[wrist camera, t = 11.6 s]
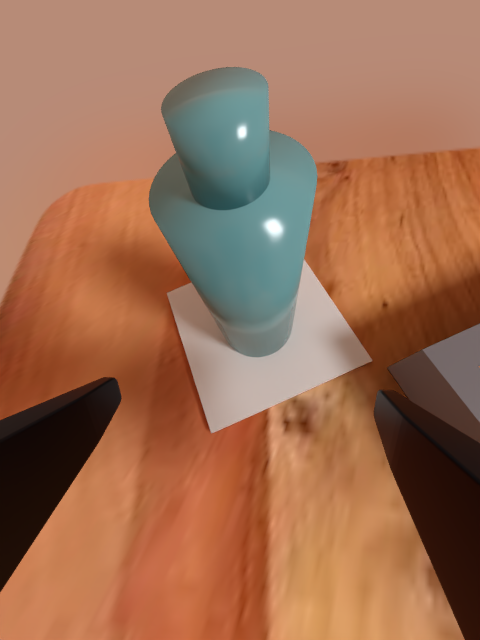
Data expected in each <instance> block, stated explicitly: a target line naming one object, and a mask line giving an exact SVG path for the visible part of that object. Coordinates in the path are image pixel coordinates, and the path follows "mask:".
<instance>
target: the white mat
mask: <svg viewBox="0 0 480 640" xmlns="http://www.w3.org/2000/svg"><path fill="white" fill-rule="evenodd" d="M167 296H168V299H169V302H170V305H171V308H172V311H173V315H174V318H175V321H176V324H177V327H178V330H179V334H180V337H181V340H182V343H183V346H184V349H185V352H186V356H187V359H188V362H189V365H190V368H191V371H192V374H193V378H194V381H195V384H196V387H197V390H198V393H199V397H200V400H201V403H202V406H203V409H204V412H205V415H206V419H207V422H208V425H209V428H210V431H211V433H214V432H216V431H219V430H221V429H223V428H225V427H227V426H230V425H232V424H234V423H236V422H239V421H241V420H243V419H245V418H247V417H250V416H252V415H254V414H256V413H259V412H261V411H263V410H265V409H267V408H270V407H272V406H274V405H276V404H278V403H281V402H283V401H285V400H287V399H290V398H292V397H294V396H296V395H298V394H301V393H303V392H305V391H307V390H309V389H312V388H314V387H316V386H318V385H321V384H323V383H325V382H327V381H329V380H332V379H334V378H336V377H338V376H340V375H343V374H345V373H347V372H349V371H352V370H354V369H356V368H358V367H360V366H363V365H365V364H367V363H369V362H371V361H373V360H372V359H371V357H370V356H369V354H368V353H367V351H366V350H365V348H364V347H363V346H362V344H361V343H360V341H359V340H358V338H357V337H356V335H355V334H354V332H353V331H352V329H351V328H350V326H349V325H348V323H347V322H346V320H345V319H344V317H343V316H342V314H341V313H340V312H339V310H338V309H337V307H336V306H335V304H334V303H333V301H332V300H331V298H330V297H329V295H328V294H327V292H326V291H325V289H324V288H323V286H322V285H321V283H320V282H319V280H318V279H317V278H316V276H315V275H314V273H313V272H312V270H311V269H310V267H309V266H308V264H307V263H306V261H305V260H304V261H303V267H302V273H301V279H300V285H299V291H298V297H297V303H296V309H295V315H294V321H293V326H292V331H291V335H290V337H289V339H288V341H287V342H286V343H285V345H284V346H283V347H282V348H281V349H279V350H278V351H277V352H275V353H273V354H271V355H268V356H264V357H249V356H245V355H242V354H240V353H238V352H237V351H235V350H234V349H233V348H232V347H231V346H230V345H229V344H228V342H227V341H226V339H225V338H224V336H223V334H222V333H221V331H220V329H219V328H218V326H217V324H216V322H215V321H214V319H213V317H212V316H211V314H210V312H209V311H208V309H207V307H206V306H205V304H204V302H203V301H202V299H201V297H200V296H199V294H198V292H197V291H196V289H195V287H194V286H193V284H192V282H191V283H189V284H187V285H184V286H182V287H179V288H177V289H175V290H172V291H170V292H168V293H167Z"/></svg>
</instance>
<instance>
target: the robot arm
mask: <svg viewBox="0 0 480 640" xmlns="http://www.w3.org/2000/svg"><path fill="white" fill-rule="evenodd" d="M120 402H121V393H120V389H119V385H118V382H117V380H116V379H115V378H112V377H103V378H101V379H98V380H96V381H93V382H91V383H89V384H86V385H84V386H81V387H79V388H77V389H74V390H72V391H69V392H67V393H65V394H62V395H60V396H57V397H55V398H53V399H50V400H48V401H45V402H43V403H41V404H38V405H36V406H33V407H31V408H29V409H26V410H24V411H21V412H19V413H17V414H14V415H12V416H9V417H7V418H5V419H2V420H0V592H1V590H2V589H3V587H4V586H5V584H6V583H7V581H8V580H9V578H10V577H11V575H12V574H13V572H14V571H15V569H16V568H17V566H18V565H19V563H20V562H21V560H22V558H23V557H24V555H25V554H26V552H27V551H28V549H29V548H30V546H31V545H32V543H33V542H34V540H35V539H36V537H37V536H38V534H39V533H40V531H41V530H42V528H43V527H44V525H45V523H46V522H47V520H48V519H49V517H50V516H51V514H52V513H53V511H54V510H55V508H56V507H57V505H58V504H59V502H60V501H61V499H62V498H63V496H64V495H65V493H66V492H67V490H68V488H69V487H70V485H71V484H72V482H73V481H74V479H75V478H76V476H77V475H78V473H79V472H80V470H81V469H82V467H83V466H84V464H85V463H86V461H87V460H88V458H89V457H90V455H91V453H92V452H93V450H94V449H95V447H96V446H97V444H98V443H99V441H100V439H101V437H102V436H103V434H104V432H105V430H106V428H107V426H108V425H109V423H110V421H111V419H112V417H113V415H114V413H115V412H116V410H117V408H118V406H119V404H120ZM374 418H375V421H376V425H377V428H378V431H379V434H380V437H381V440H382V444H383V447H384V450H385V453H386V456H387V459H388V462H389V465H390V468H391V471H392V473H393V475H394V478H395V480H396V482H397V485H398V487H399V489H400V492H401V494H402V496H403V499H404V501H405V503H406V505H407V508H408V510H409V512H410V515H411V517H412V519H413V522H414V524H415V526H416V528H417V531H418V533H419V535H420V538H421V540H422V542H423V545H424V547H425V549H426V551H427V554H428V556H429V558H430V561H431V563H432V565H433V568H434V570H435V572H436V574H437V577H438V579H439V581H440V584H441V586H442V588H443V591H444V593H445V595H446V598H447V600H448V602H449V604H450V607H451V609H452V611H453V614H454V616H455V618H456V621H457V623H458V625H459V627H460V630H461V632H462V634H463V637H464V639H465V640H480V443H479V442H478V441H476V440H474V439H473V438H471V437H469V436H468V435H466V434H464V433H463V432H461V431H460V430H458V429H456V428H455V427H453V426H451V425H450V424H448V423H446V422H445V421H443V420H442V419H440V418H438V417H437V416H435V415H433V414H432V413H430V412H428V411H427V410H425V409H423V408H422V407H420V406H419V405H417V404H415V403H414V402H412V401H410V400H409V399H407V398H405V397H404V396H402V395H401V394H399V393H397V392H396V391H393V390H379V391H378V392H377V396H376V402H375V407H374Z"/></svg>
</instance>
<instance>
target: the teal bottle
mask: <svg viewBox="0 0 480 640" xmlns="http://www.w3.org/2000/svg"><path fill="white" fill-rule="evenodd" d="M268 100H269V99H268V83H267V81H266V79H265V78H264V77H263V76H262V75H261V74H260V73H258V72H256V71H254V70H251V69H247V68H240V67H226V68H218V69H213V70H209V71H205V72H202V73H199V74H197V75H194V76H192V77H190V78H188V79H186V80H184V81H183V82H181V83H179V84H178V85H177V86H175V87H174V88H173V89H172V90H171V91H170V92H169V93H168V94H167V95H166V97H165V98H164V100H163V102H162V107H161V112H162V115H163V118H164V121H165V124H166V126H167V129H168V131H169V134H170V137H171V140H172V143H173V145H174V148H175V151H176V154H174V155H173V156H172V157H171V158H170V159H169V160H168V161H167V162H166V163H165V164H164V165H163V166H162V167H161V169H160V170H159V171H158V173H157V175H156V176H155V178H154V180H153V182H152V185H151V189H150V193H149V207H150V210H151V214H152V216H153V218H154V220H155V222H156V223H157V225H158V227H159V228H160V230H161V232H162V234H163V235H164V237H165V239H166V240H167V242H168V244H169V245H170V247H171V249H172V250H173V252H174V254H175V255H176V257H177V259H178V260H179V262H180V264H181V265H182V267H183V269H184V270H185V272H186V274H187V275H188V277H189V279H190V281H191V282H192V284H193V286H194V287H195V289H196V291H197V292H198V294H199V296H200V297H201V299H202V301H203V302H204V304H205V306H206V307H207V309H208V311H209V312H210V314H211V316H212V317H213V319H214V321H215V322H216V324H217V326H218V328H219V329H220V331H221V333H222V334H223V336H224V338H225V339H226V341H227V342H228V344H229V345H230V346H231V347H232V348H233V349H234V350H235V351H237V352H238V353H240V354H242V355H245V356H249V357H264V356H268V355H271V354H273V353H275V352H277V351H278V350H279V349H281V348H282V347H283V346H284V345H285V343H286V342H287V341H288V339H289V337H290V335H291V331H292V326H293V321H294V315H295V309H296V303H297V297H298V291H299V285H300V279H301V273H302V267H303V261H304V256H305V250H306V244H307V238H308V232H309V226H310V220H311V214H312V208H313V202H314V196H315V191H316V185H317V169H316V165H315V162H314V160H313V158H312V156H311V155H310V153H309V152H308V151H307V149H306V148H305V147H304V146H302V145H301V144H300V143H299V142H297V141H296V140H294V139H293V138H291V137H289V136H286V135H284V134H281V133H278V132H275V131H271V130H269V101H268Z"/></svg>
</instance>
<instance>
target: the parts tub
mask: <svg viewBox="0 0 480 640" xmlns="http://www.w3.org/2000/svg"><path fill="white" fill-rule="evenodd" d="M478 366H480V324H478V325H476V326H473V327H471V328H469V329H467V330H464V331H462V332H460V333H458V334H456V335H453V336H451V337H449V338H447V339H445V340H442V341H440V342H438V343H436V344H434V345H431V346H429V347H427V348H425V349H423V350H421V351H419V352H417V353H415V354H413V355H411V356H409V357H407V358H405V359H403V360H401V361H399V362H397V363H395V364H393V365H391V366H389V367H387V368H388V370H389V371H390V373H391V374H392V375H393V377H394V378H395V380H396V381H397V383H398V384H399V385H400V387H401V388H402V390H403V391H404V393H405V394H406V396H407V397H408V398H409V400H410V401H412V402H414V403H415V404H417V405H419V406H420V407H422V408H423V409H425V410H427V411H428V412H430V413H432V414H433V415H435V416H437V417H438V418H440V419H442V420H443V421H445V422H446V423H448V424H450V425H451V426H453V427H455V428H456V429H458V430H460V431H461V432H463V433H464V434H466V435H468V436H469V437H471V438H473V439H474V440H476V441H478V442H479V443H480V368H479V367H478Z"/></svg>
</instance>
